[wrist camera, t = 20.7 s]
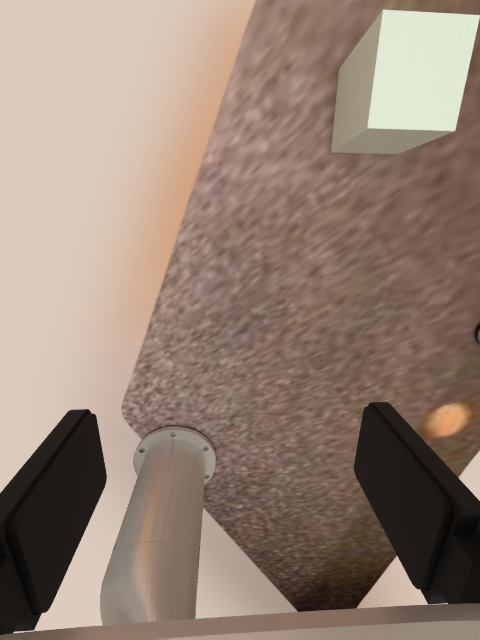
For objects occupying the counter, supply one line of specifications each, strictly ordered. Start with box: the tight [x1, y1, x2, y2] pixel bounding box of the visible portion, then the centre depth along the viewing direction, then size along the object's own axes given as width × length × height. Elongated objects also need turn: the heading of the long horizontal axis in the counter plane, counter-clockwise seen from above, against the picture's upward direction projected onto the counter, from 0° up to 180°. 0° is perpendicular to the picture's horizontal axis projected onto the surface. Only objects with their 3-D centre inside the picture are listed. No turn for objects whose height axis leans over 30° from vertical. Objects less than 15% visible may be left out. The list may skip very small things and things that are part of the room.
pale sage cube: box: [331, 10, 480, 154], centre depth 28 cm, size 8×8×9 cm
